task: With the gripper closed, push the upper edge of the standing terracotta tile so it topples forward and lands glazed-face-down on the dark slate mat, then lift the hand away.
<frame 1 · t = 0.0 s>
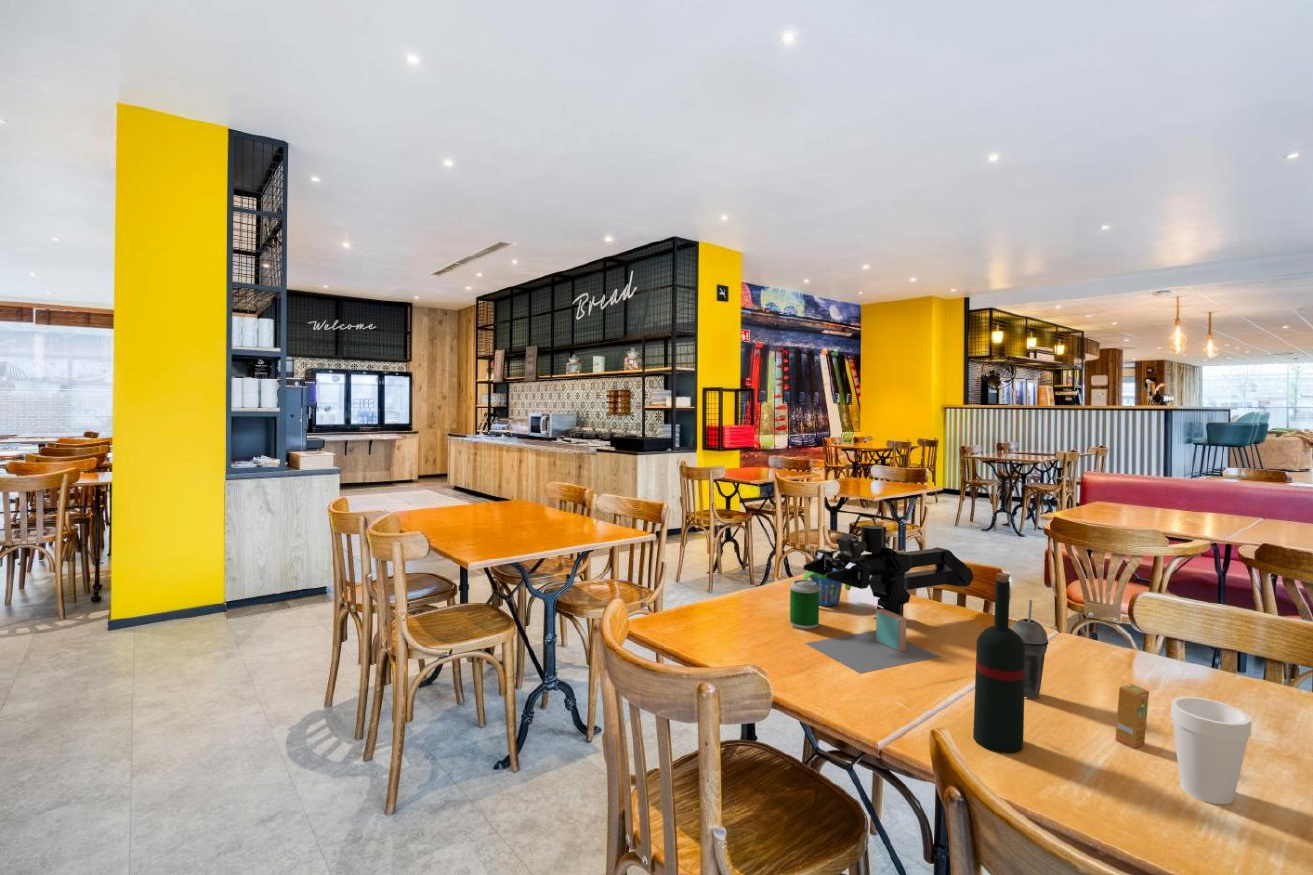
hand: (814, 571, 171), 17 cm above the table, tool horizontal, fingers open, 9 cm apart
beverage cup: (1026, 695, 138), on the table
terracotta tile: (890, 645, 163), point 1 cm above the table, touching slate mat
foam cup: (1206, 793, 103), on the table
supplement box: (1130, 744, 118), on the table
soda can: (804, 628, 178), on the table
slate mat: (871, 652, 161), on the table
wine bottle: (1001, 741, 119), on the table
snack cup: (826, 603, 200), on the table
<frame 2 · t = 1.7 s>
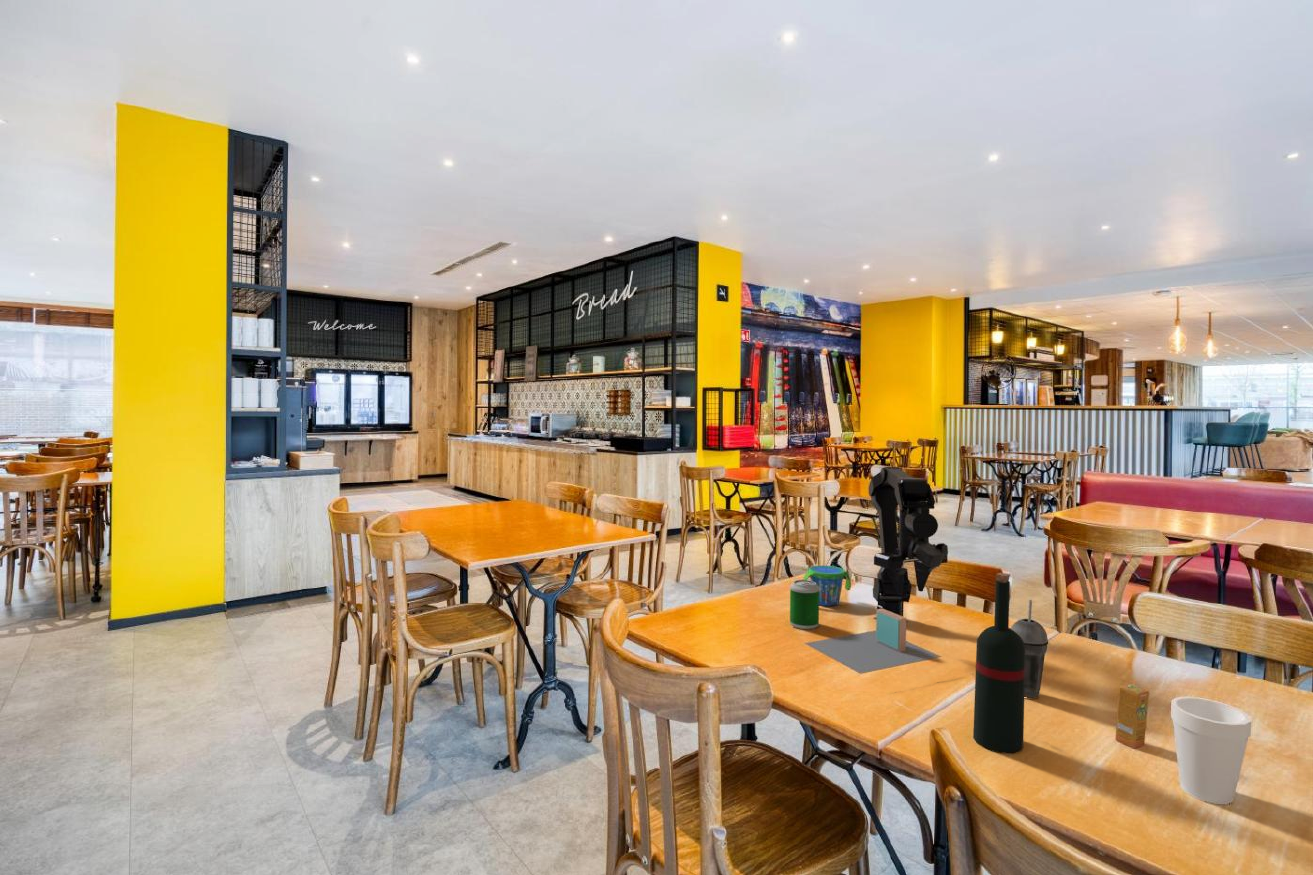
hand: (910, 592, 165), 13 cm above the table, tool pointing down, fingers open, 6 cm apart
nothing on the table moved.
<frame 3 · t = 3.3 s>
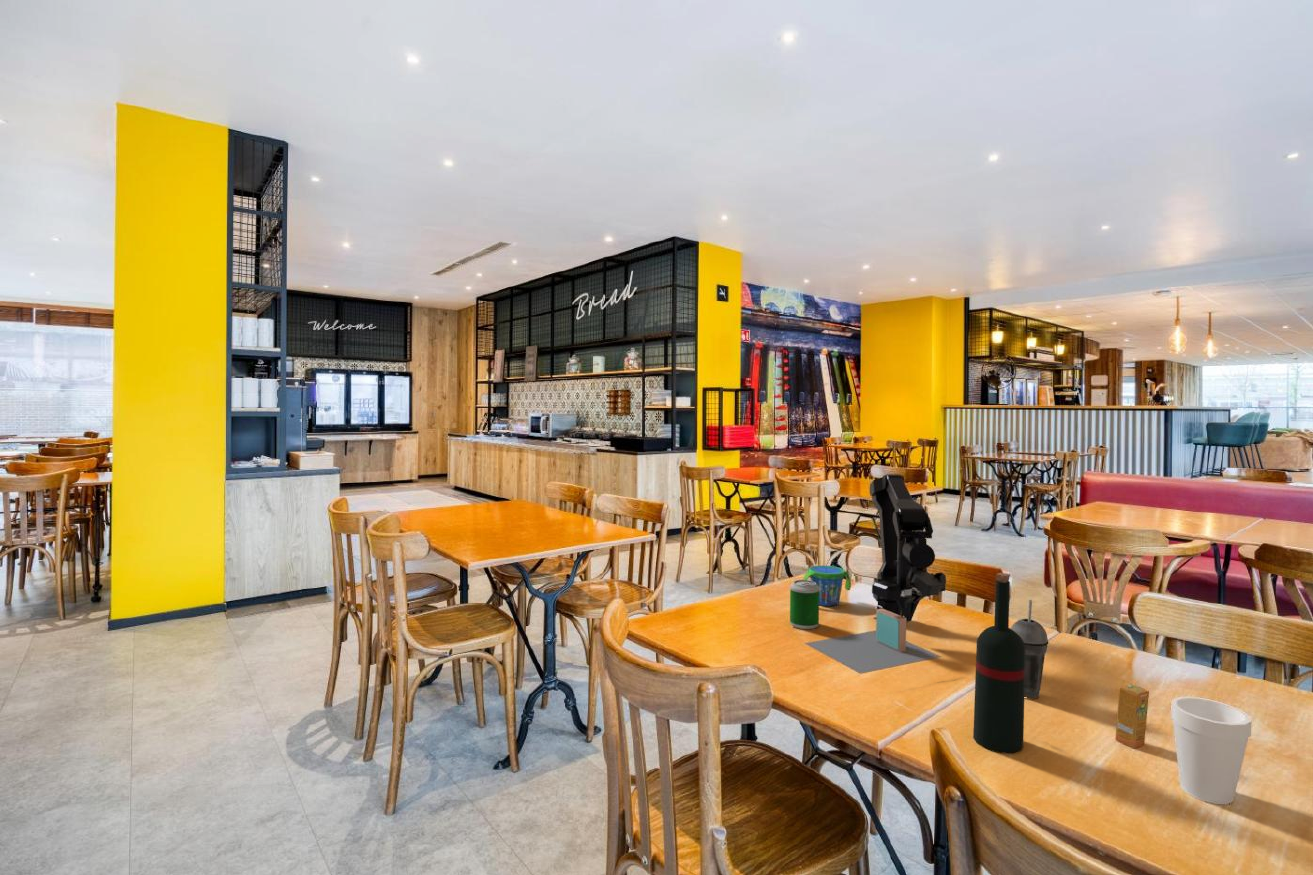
hand: (908, 621, 165), 6 cm above the table, tool pointing down, fingers closed
nothing on the table moved.
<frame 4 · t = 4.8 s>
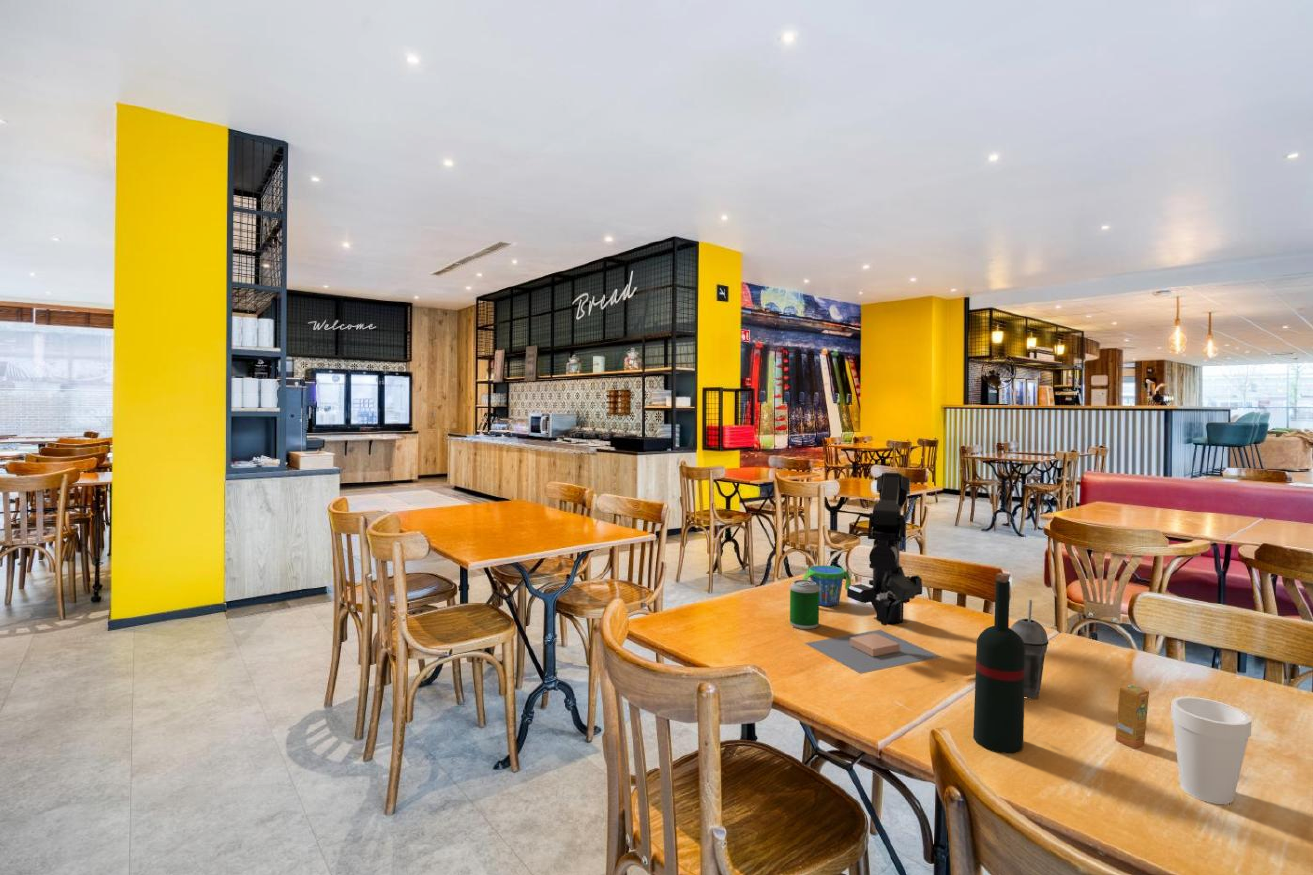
hand: (884, 625, 162), 6 cm above the table, tool pointing down, fingers closed
terracotta tile: (887, 642, 163), point 2 cm above the table, tilted 90°, touching slate mat
everything else where it was.
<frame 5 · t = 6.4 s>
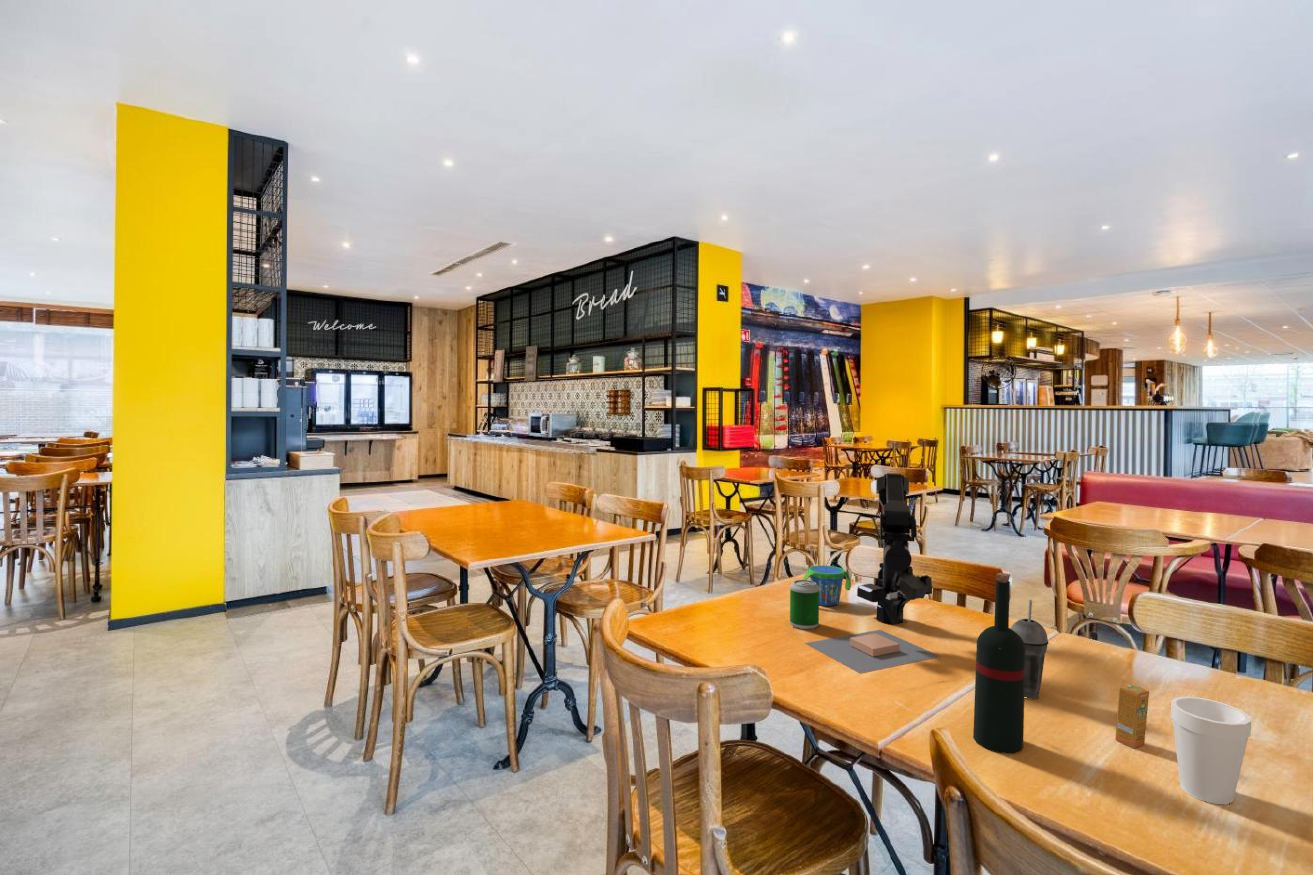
hand: (894, 623, 163), 6 cm above the table, tool pointing down, fingers closed
nothing on the table moved.
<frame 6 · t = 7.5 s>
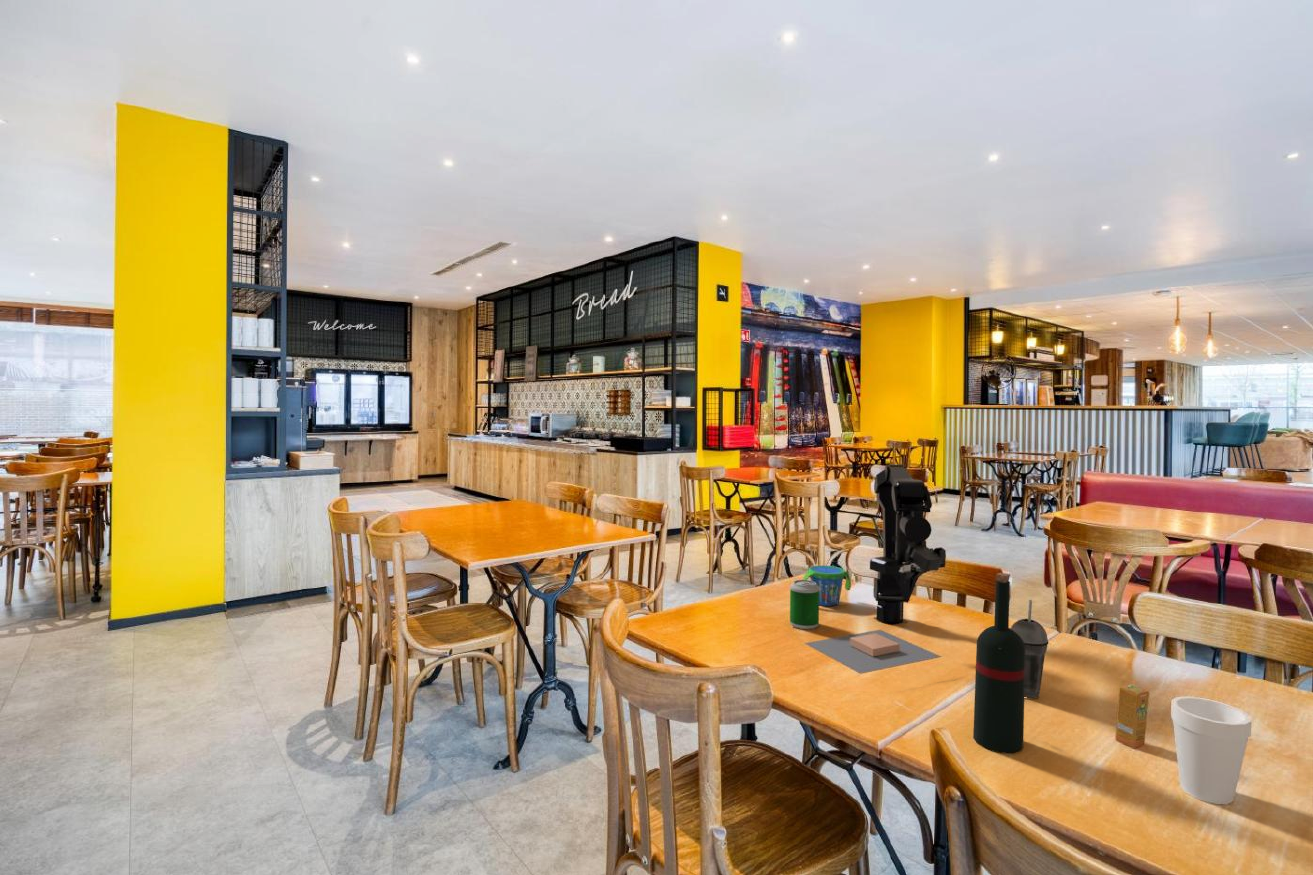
hand: (907, 598, 160), 13 cm above the table, tool pointing down, fingers closed
nothing on the table moved.
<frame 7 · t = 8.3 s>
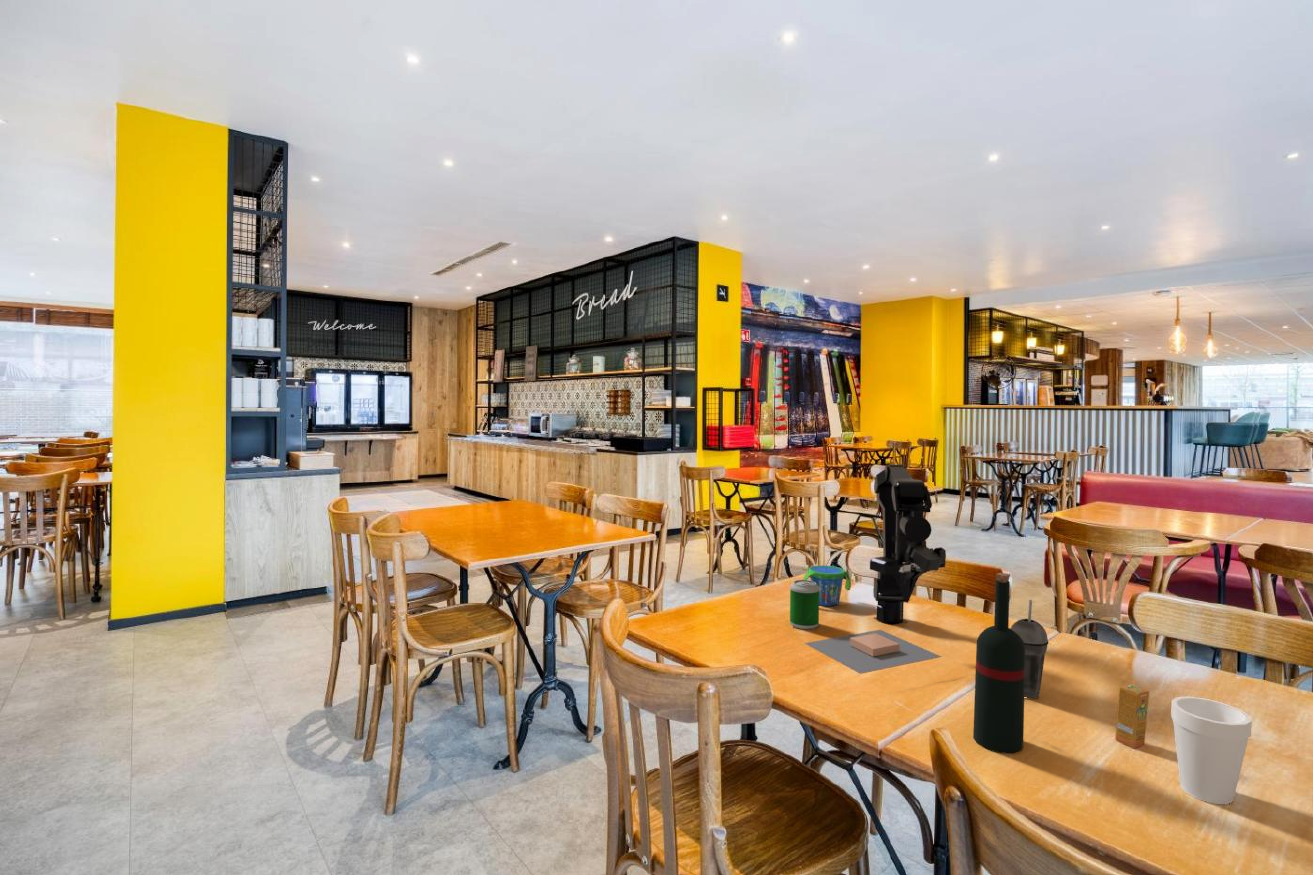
hand: (907, 598, 160), 13 cm above the table, tool pointing down, fingers closed
nothing on the table moved.
at the end: terracotta tile tilted 90°; terracotta tile inside the target area (6.5 cm from its centre), point 1.7 cm above the table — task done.
